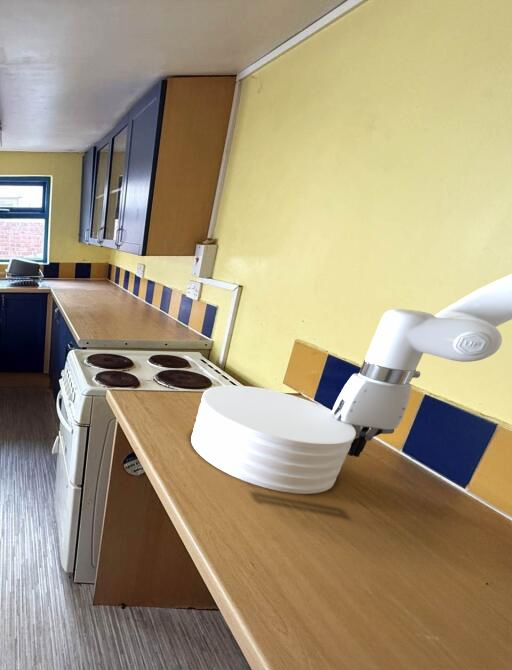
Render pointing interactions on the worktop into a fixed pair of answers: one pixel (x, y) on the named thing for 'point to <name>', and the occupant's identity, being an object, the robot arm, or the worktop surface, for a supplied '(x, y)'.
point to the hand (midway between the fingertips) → (350, 452)
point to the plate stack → (271, 438)
